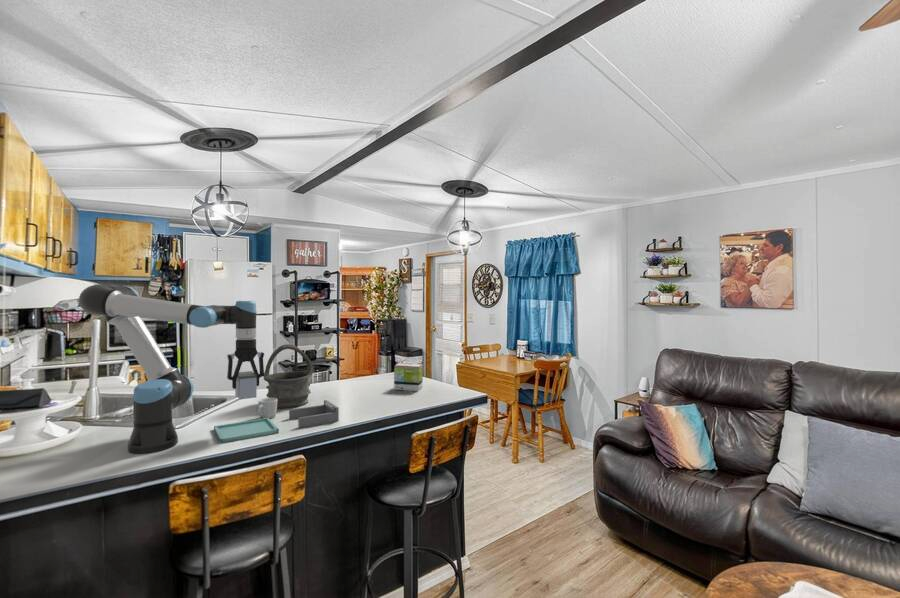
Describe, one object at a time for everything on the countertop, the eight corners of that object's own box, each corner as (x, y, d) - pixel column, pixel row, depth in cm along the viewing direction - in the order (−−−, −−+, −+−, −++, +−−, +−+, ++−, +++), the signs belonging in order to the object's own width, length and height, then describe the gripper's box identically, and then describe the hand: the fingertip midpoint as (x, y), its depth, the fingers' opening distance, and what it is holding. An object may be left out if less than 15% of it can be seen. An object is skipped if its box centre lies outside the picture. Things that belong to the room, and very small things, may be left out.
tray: (220, 443, 160) (220, 439, 160) (214, 429, 175) (214, 426, 175) (278, 432, 172) (278, 429, 172) (268, 421, 187) (268, 417, 187)
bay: (299, 428, 178) (299, 413, 178) (289, 418, 191) (289, 405, 191) (338, 421, 188) (338, 407, 188) (326, 412, 201) (326, 400, 200)
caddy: (239, 399, 167) (239, 376, 167) (235, 394, 176) (235, 372, 175) (256, 397, 171) (256, 375, 171) (251, 392, 179) (251, 371, 179)
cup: (266, 422, 185) (266, 404, 185) (250, 421, 187) (250, 403, 187) (281, 415, 196) (281, 398, 196) (265, 414, 197) (265, 397, 197)
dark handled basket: (273, 398, 227) (273, 342, 227) (317, 398, 228) (317, 342, 228) (256, 409, 205) (256, 347, 205) (305, 409, 206) (305, 347, 206)
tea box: (393, 390, 247) (393, 365, 246) (398, 386, 256) (398, 362, 256) (418, 391, 244) (419, 365, 244) (422, 387, 254) (423, 363, 254)
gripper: (220, 340, 164) (220, 400, 165) (272, 338, 175) (272, 394, 176) (218, 339, 170) (218, 396, 171) (268, 336, 181) (268, 390, 182)
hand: (245, 395), depth 173 cm, fingers closed on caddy, 6 cm apart
